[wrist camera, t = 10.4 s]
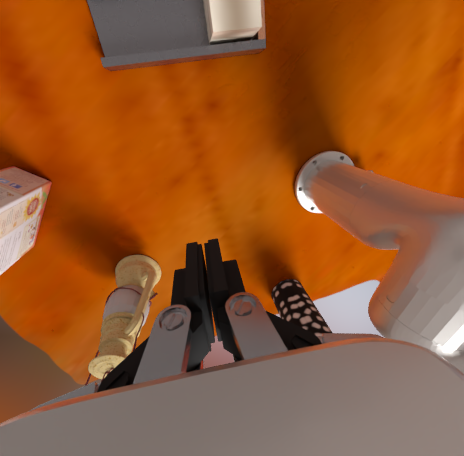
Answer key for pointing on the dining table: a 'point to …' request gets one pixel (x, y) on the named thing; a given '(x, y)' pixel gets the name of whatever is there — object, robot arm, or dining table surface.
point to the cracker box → (20, 212)
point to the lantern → (125, 312)
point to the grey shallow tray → (161, 33)
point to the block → (232, 20)
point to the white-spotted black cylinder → (298, 307)
